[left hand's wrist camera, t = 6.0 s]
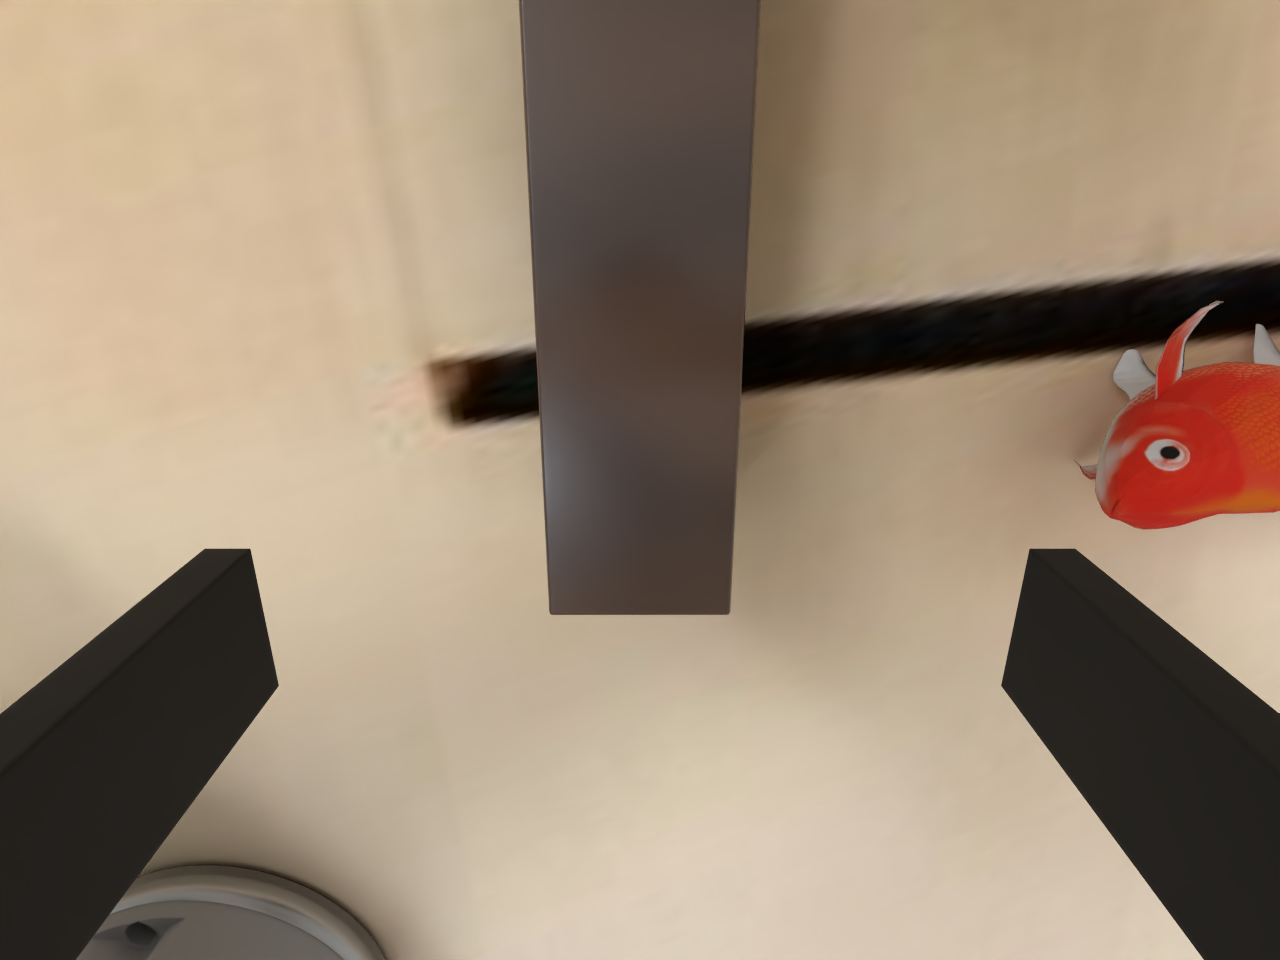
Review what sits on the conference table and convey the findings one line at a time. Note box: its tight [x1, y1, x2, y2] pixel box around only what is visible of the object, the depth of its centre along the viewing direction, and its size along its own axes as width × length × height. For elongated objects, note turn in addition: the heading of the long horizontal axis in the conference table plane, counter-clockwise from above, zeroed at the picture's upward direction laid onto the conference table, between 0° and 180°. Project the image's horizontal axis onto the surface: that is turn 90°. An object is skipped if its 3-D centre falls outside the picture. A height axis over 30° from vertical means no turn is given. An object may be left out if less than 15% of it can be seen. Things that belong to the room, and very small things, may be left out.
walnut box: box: [519, 0, 761, 615], centre depth 19 cm, size 30×5×8 cm, turn 0°
